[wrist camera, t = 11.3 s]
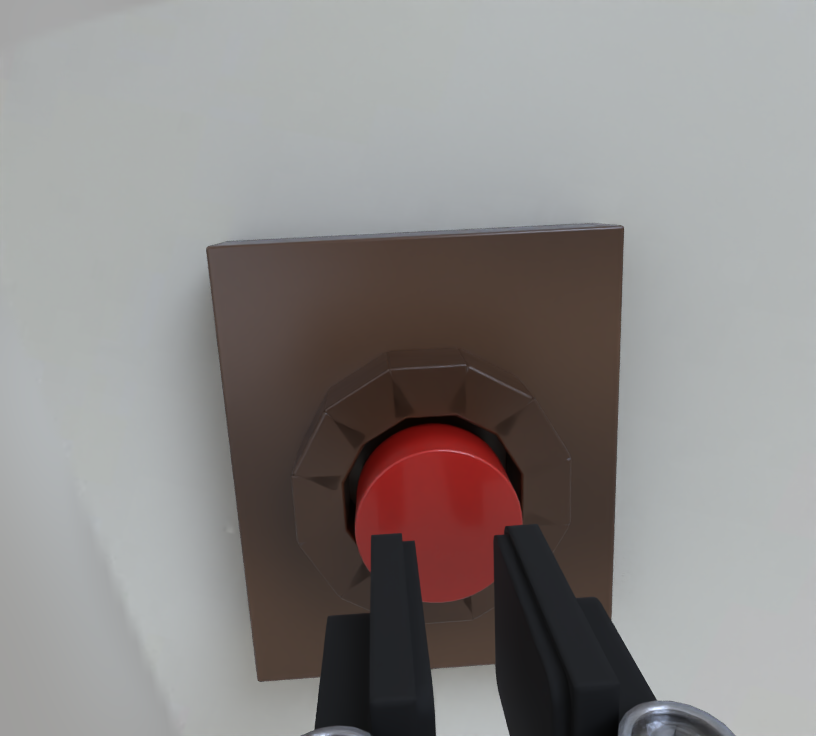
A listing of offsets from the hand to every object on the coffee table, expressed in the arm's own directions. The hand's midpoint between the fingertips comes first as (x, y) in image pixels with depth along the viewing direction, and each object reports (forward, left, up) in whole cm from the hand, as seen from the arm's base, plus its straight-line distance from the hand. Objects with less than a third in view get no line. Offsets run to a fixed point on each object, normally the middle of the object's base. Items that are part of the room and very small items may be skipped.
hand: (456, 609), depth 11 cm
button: (0, 0, -5) cm, 5 cm away
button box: (0, 0, -8) cm, 8 cm away
